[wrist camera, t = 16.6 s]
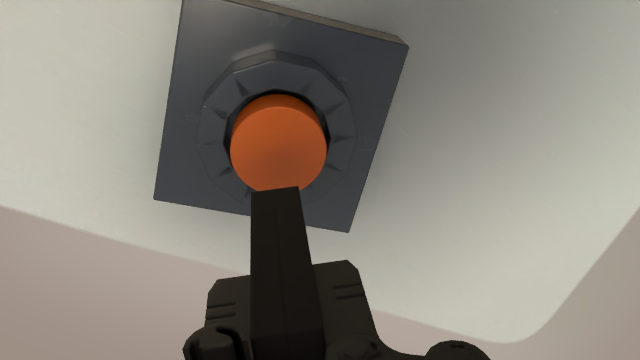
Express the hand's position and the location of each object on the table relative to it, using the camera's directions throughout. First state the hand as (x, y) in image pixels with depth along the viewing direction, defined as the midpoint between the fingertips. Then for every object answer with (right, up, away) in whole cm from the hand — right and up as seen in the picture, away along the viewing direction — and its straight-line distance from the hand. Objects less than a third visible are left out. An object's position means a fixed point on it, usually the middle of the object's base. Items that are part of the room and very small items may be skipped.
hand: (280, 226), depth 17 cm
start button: (-1, +3, +7) cm, 7 cm away
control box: (-1, +5, +10) cm, 11 cm away
